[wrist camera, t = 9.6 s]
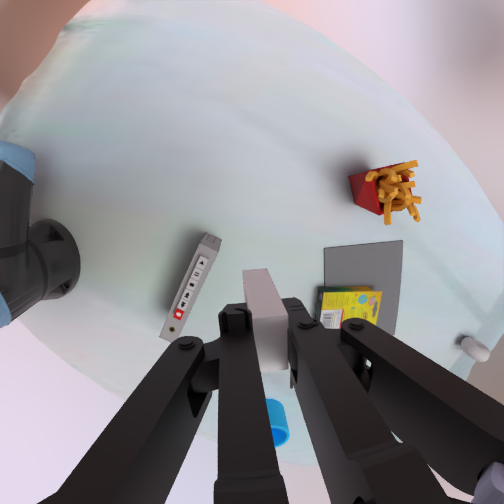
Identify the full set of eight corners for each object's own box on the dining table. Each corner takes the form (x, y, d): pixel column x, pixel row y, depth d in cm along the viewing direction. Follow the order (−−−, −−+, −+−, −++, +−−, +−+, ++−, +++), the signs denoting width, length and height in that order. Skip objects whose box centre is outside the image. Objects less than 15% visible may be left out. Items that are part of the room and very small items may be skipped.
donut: (452, 344, 54) (474, 363, 44) (458, 332, 53) (481, 350, 43) (470, 348, 55) (490, 365, 45) (475, 337, 54) (497, 353, 45)
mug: (254, 395, 52) (257, 422, 44) (289, 402, 53) (296, 428, 45) (236, 428, 54) (236, 454, 46) (268, 434, 56) (272, 459, 48)
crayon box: (313, 323, 49) (369, 321, 49) (317, 331, 46) (375, 328, 46) (318, 285, 47) (376, 285, 48) (323, 291, 44) (384, 291, 45)
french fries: (375, 164, 43) (426, 158, 29) (385, 209, 45) (437, 220, 30) (330, 175, 43) (372, 170, 29) (342, 222, 45) (386, 238, 31)
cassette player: (184, 318, 47) (174, 348, 38) (170, 312, 47) (157, 340, 37) (221, 239, 45) (218, 253, 35) (206, 232, 44) (198, 244, 35)
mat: (323, 349, 50) (323, 349, 50) (324, 248, 46) (324, 248, 46) (393, 334, 51) (394, 335, 51) (402, 240, 46) (403, 240, 46)
